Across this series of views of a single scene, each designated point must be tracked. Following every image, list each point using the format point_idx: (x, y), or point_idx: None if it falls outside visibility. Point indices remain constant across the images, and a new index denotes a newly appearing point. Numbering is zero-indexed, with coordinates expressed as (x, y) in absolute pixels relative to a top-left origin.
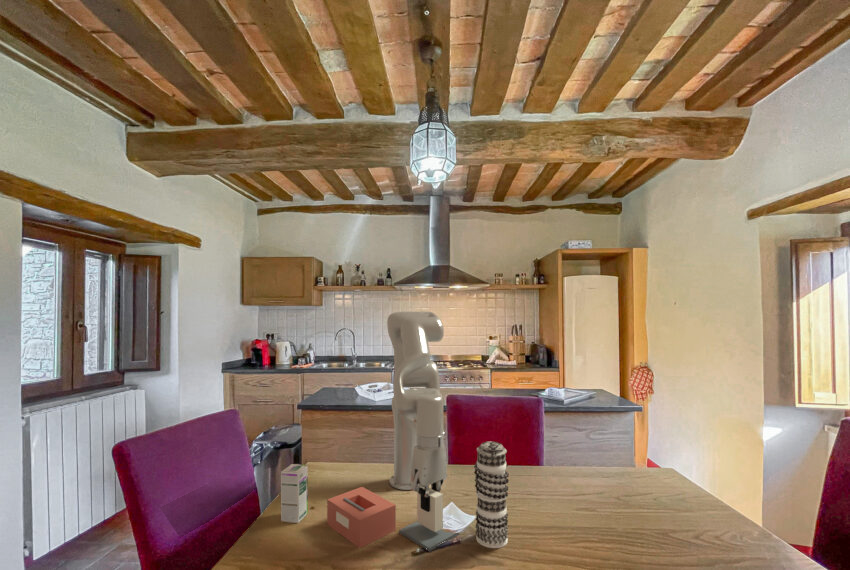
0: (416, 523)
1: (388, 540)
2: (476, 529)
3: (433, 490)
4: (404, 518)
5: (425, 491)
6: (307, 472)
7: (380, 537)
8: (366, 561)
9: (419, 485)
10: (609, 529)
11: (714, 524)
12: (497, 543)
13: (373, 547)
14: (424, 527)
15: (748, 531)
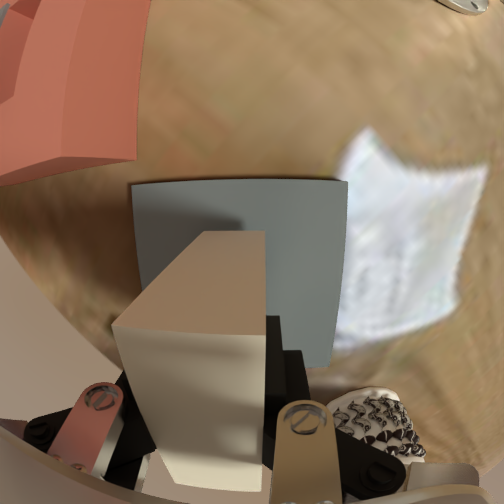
0: (230, 195)
1: (83, 203)
2: (352, 406)
3: (251, 447)
4: (239, 97)
5: (104, 475)
6: None
7: (71, 170)
8: (14, 251)
9: (55, 450)
10: (469, 451)
11: (495, 460)
12: None
13: (39, 206)
14: None
15: (486, 471)
